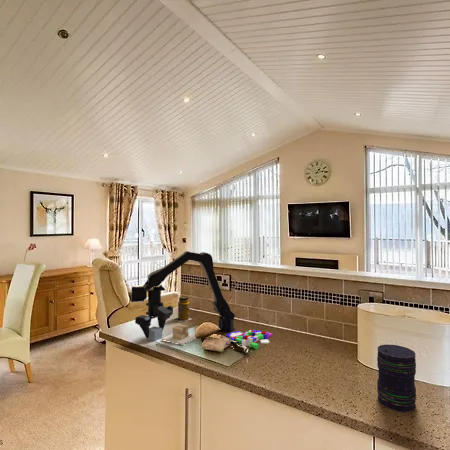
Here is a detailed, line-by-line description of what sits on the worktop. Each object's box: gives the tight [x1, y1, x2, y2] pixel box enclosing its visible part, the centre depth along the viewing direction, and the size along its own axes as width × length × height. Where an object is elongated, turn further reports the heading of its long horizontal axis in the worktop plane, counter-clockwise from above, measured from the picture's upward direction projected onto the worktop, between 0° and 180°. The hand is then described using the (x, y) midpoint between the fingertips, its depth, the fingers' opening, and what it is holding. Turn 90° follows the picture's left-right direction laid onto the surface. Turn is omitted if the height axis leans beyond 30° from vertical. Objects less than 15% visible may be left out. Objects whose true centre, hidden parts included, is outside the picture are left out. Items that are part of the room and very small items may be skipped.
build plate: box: [160, 332, 195, 346], centre depth 144 cm, size 12×12×1 cm
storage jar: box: [376, 344, 417, 413], centre depth 92 cm, size 10×10×15 cm
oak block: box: [172, 324, 189, 339], centre depth 144 cm, size 5×5×4 cm
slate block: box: [145, 326, 163, 342], centre depth 145 cm, size 5×5×4 cm
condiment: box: [172, 296, 192, 323], centre depth 174 cm, size 7×8×12 cm
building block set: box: [225, 329, 273, 350], centre depth 143 cm, size 25×20×4 cm
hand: (154, 334), depth 145 cm, fingers open, 9 cm apart
